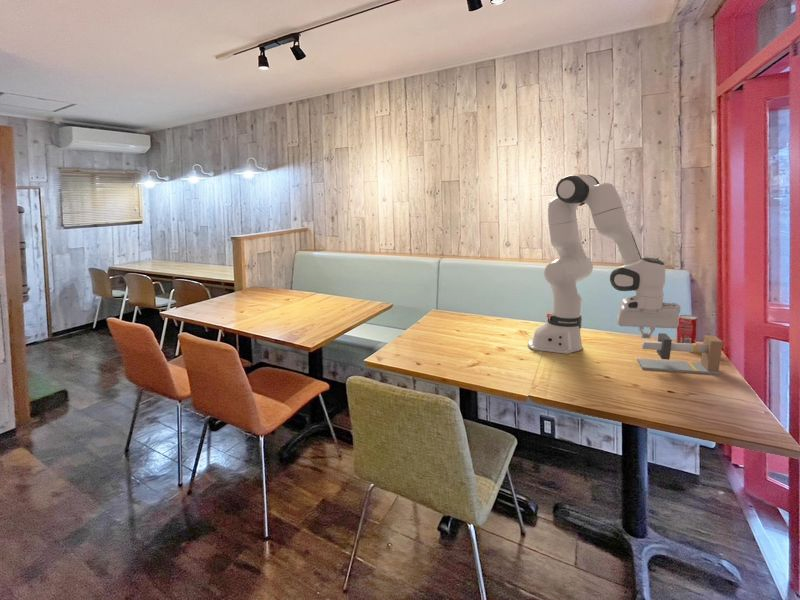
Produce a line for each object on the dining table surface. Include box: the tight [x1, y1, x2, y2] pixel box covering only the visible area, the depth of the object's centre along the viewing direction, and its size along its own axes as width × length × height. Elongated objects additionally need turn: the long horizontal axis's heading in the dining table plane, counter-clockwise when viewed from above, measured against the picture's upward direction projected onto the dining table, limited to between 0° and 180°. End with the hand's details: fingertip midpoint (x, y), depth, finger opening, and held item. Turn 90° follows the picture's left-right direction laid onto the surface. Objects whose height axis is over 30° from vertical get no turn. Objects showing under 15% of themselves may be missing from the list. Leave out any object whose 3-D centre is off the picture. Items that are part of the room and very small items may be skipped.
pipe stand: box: [636, 334, 724, 376], centre depth 165 cm, size 25×9×12 cm, turn 73°
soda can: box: [674, 314, 699, 344], centre depth 185 cm, size 7×7×13 cm
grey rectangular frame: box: [656, 332, 673, 361], centre depth 166 cm, size 2×8×8 cm, turn 163°
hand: (645, 337), depth 167 cm, fingers closed
